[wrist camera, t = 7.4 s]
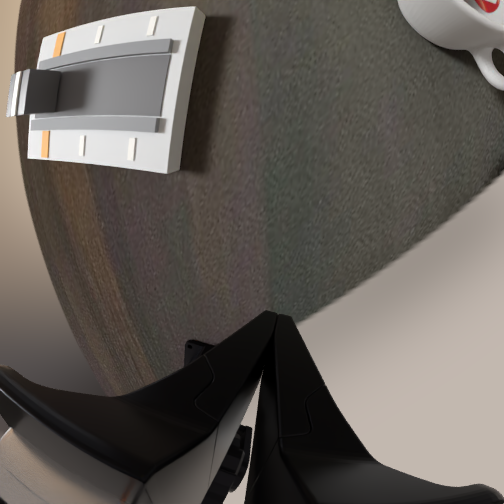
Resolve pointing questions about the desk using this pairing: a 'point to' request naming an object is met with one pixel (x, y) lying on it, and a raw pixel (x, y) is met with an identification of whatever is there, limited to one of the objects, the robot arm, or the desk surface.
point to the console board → (120, 90)
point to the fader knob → (33, 92)
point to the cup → (461, 28)
